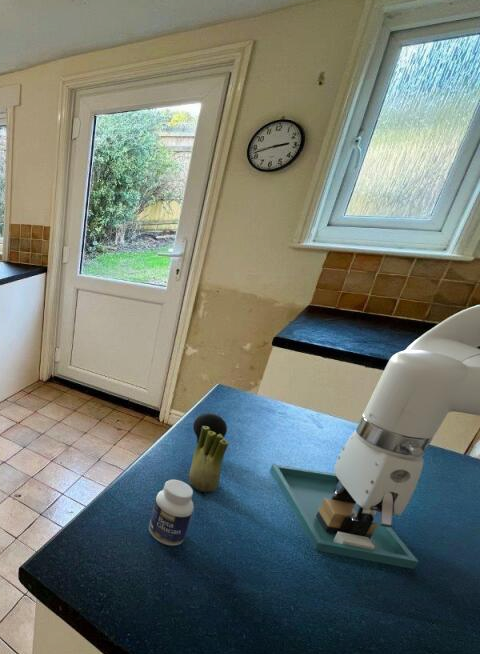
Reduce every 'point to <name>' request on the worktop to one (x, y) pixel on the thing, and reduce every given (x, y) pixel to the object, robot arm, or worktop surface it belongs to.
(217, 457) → the fennel bulb
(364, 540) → the chalk
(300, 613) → the worktop surface
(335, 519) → the eraser
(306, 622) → the worktop surface
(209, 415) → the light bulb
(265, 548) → the worktop surface
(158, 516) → the pill bottle
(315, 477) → the tray
